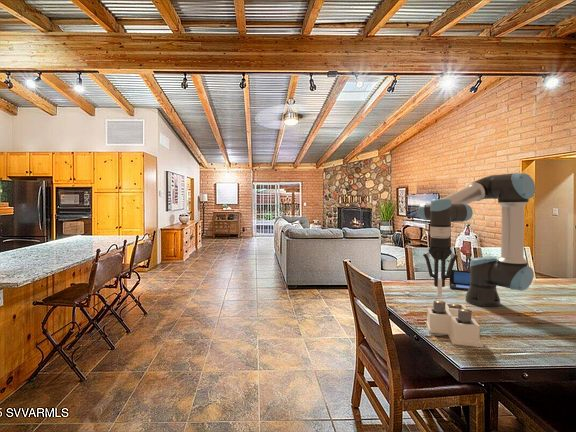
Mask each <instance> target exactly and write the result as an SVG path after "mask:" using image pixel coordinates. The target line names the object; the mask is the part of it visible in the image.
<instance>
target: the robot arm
mask: <svg viewBox="0 0 576 432" xmlns="http://www.w3.org/2000/svg"><path fill="white" fill-rule="evenodd" d="M535 193H536V184H535V181H534V179H533V178H532V177H531V176H530V175H529V174H528V173H524V172H523V173H522V172H519V173H518V172H515V173H505V174H492V175H489V176H484V177H481V178H479V179H477V180H475V181H473V182H471V183H468V185H467V186H466V187H464V188H462V189H460V190H458V191H456V192H453V193H451V194H449V195H447V196H444V197H442V198H434V199H431V200H430V202H429V203H428V202H426V203H421V204H419V206H418V208H417V215H418V217H419V218H420V219H421V220H424V221H425V220H426V221H430V226H429V236H430V238H429V248H428V251H427V252H423V253H422V256H423V257H424V259H425V262H426V267H427V270H428V275H429V276H430V278H432V279H433V285H434V287H436V294H437V296H441V297H442V296H443V288H445V286H446V279H450V276H451V272H452V270H454V265H455V262H456V261H457V259H458V258H459V255H457V254H455V253H453V251H452V249H451V248H452V247H451V243H452V242H451V238H450V237H451V235H452V231H451V229H452V225H451V224H452V223H459V222H460V223H463V222H468V221H469V220H471V218H472V217H473V213H474V211H473V209H472V207H471V206H470V205H469V204H471V203H473V202H480V201H482V200H492V199H493V200H496V199H497V203H498V204H499V205H500V206H501V234H500V235H501V241H500V245H501V246H500V249H501V250H500V252H501V253H500V257H498V258H496V257H490V256H487V257H486V256H484V257H473V258H472V259H470V261H469V262H470V263H469V271H470V287H469V289H468V291H466V294H465V301H466V302H467V303H469V304H472V305H474V306H481V307H485V308H487V307H488V308H489V307H490V308H495V307H499V306H501V299H500V296H499V293H498V290H497V287H502V288H506V289H509V290H512V291H514V290H515V291H521V292H522V291H526V290H527V289H528V288H529V287H530V286H531V285H532V282H533V281H534V276H535V275H534V273H535V272H534V269H533V267H530V266H529V265H528V263H529V262H528V260H527V259H525V258H524V251H525V245H524V244H525V243H524V242H525V241H524V240H525V238H524V237H525V206H526V205H527V204H529V200H530V199H532V198H533V197H534V196H535ZM430 256H431V257H432V258H433V263H434V266H433V269H434V270H432V265H431V260H430ZM448 258H450V259H449V263H448V266H447V270H446V262H447V261H446V260H447V259H448ZM439 262H440V277H439Z"/></svg>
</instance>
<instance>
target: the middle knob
mask: <svg viewBox="0 0 576 432" xmlns="http://www.w3.org/2000/svg"><path fill="white" fill-rule="evenodd" d="M445 303H446V301H444V300H440V299H439V300H438V299H437V300H436V299H435V300H433V303H432V304H433V307H432V308H433V313H435V314H445Z"/></svg>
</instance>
